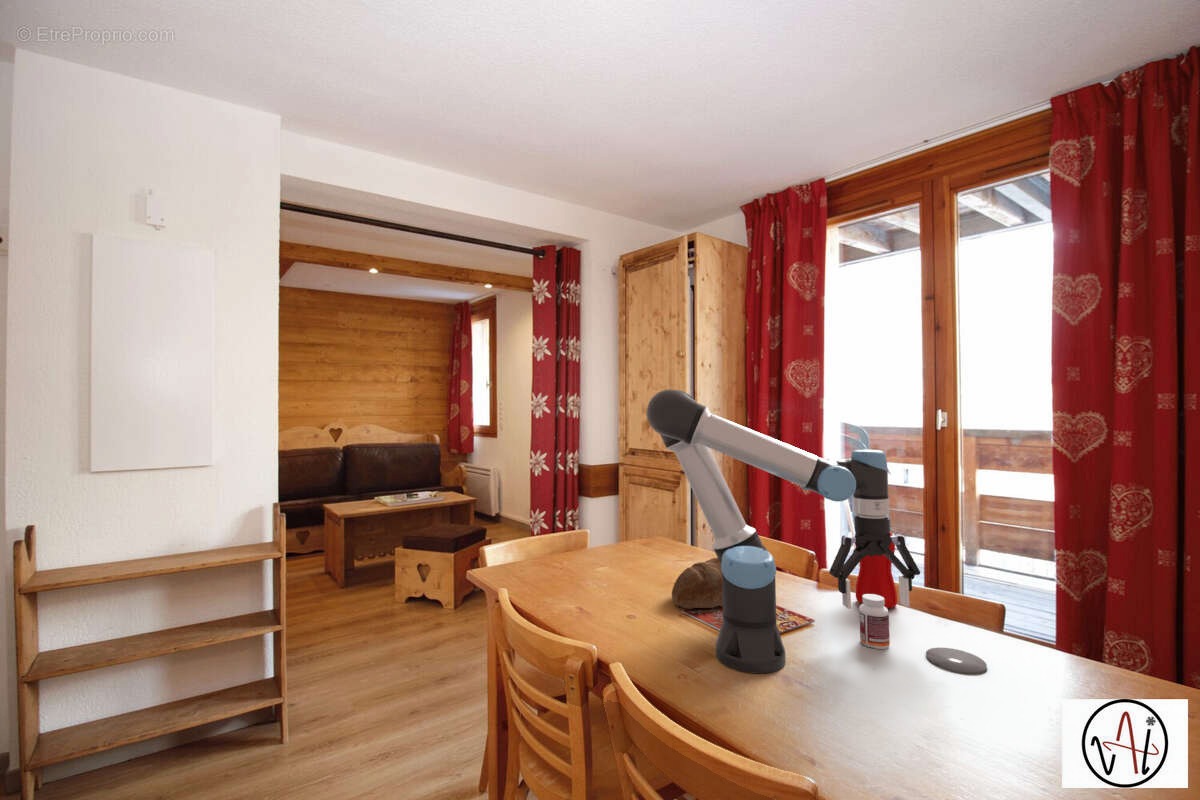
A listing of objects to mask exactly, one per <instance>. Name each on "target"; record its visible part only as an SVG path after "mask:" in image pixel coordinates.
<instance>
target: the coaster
mask: <svg viewBox="0 0 1200 800" xmlns="http://www.w3.org/2000/svg"><path fill="white" fill-rule="evenodd" d="M925 658H926V659H927V660H928V662H930V663H931V664H932V665H934V666H936V667H938V668H941V669H943V670H947V671H950V672H954V673H958V674H965V675H979V674H984V673H985V672H986V671H987V669H988V666H987V663H986V661H985V660H983V659H982V658H981V657H979V656H977V655H975V654H973V653H970V652H967V651H964V650H960V649H957V648H956V649H955V648H950V647H931V648H929V649H927V650H926V652H925Z"/></svg>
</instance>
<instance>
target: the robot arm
mask: <svg viewBox="0 0 1200 800" xmlns="http://www.w3.org/2000/svg"><path fill="white" fill-rule="evenodd" d="M646 419H647V422H648V424H649V426H650V428H652V430H654V432H656V433H657V434H659V435H660V438H661V440H662V442H663V444H664V446H665V448H666V450H669V451H671V452H672V453H673V452H674V454H675V455H676V458H677V461H679V464H680V467H681V469H682V470H683V472H684V474H685V477H686V479H687V481H688V483H689V485H690V487H691V489H692V492H693V494H694V497H695V498H696V500H697V503H698V505H699V506H700V509H701V511H702V513H703V515H704V517H705V519H706V520H705V521H707V524H708V526H709V528H710V530H711V532H712V534H713V536H714V541H713V544H712V548H713V551H714V553H715V555H716V558H718V559H719V561H720V564H721V571H722V600H723V606H722V622H721V626H720V628H719V632H718V635H717V638H716V642H715V657H716V659H717V660H718V661H719V663H721V664H723V665H724V666H725V667H728V668H730V669H733V670H736V671H739V672H744V673H750V674H767V673H773V672H776V671H779V670H781V669H782V668H783V667H784V666H785V665H786V663H787V662H786V661H787V660H786V659H787V658H786V649H785V646H784V643H783V641H782V637H781V635H780V631H779V628H778V626H777V592H776V589H777V588H776V575H777V566H776V562H775V558H774V556H773V555H772V554H771V553H770V552H769V550H768V549H767V547H765V545H764V544H763V542H762V540H761V538H760V536H759V534H758V532H757V529H756V528H755V527H753V526H750V525H749V524H747V523H746V521H745V519H744V516H743V515H742V513H741V511H740V508H739V505H738V504H737V502H736V499H735V498H734V496H733V494H732V492H731V490H730V487H729V486H728V483H727V481H726V479H725V477H724V475H723V473H722V471H721V469H720V467H719V465H718V463H717V461H716V459H715V456H714V454H713V452H712V450H714V451H716V452H719V453H721V454H723V455H726V456H728V457H731V458H733V459H734V460H738V461H741V462H743V463H744V464H748V465H750V466H751V467H755V468H757V469H759V470H762V471H764V472H767V473H769V474H772V475H774V476H776V477H778V478H781V479H784V480H786V481H788V482H791V483H793V484H795V485H797V486H800V488H801V489H802V490H804V491H811V492H814V493H816V494H818V495H821V496H823V498H825V499H827V500H829V501H832V502H844V501H847V500H848V499H850V498H851V497H852V499H853V513H854V514H855V515H854V517H853V518H854V519H853V520H854V523H853V524H854V532H855V534H854V537H851V536H847V535H842V536H841V541H840V547H839V549H838V551H837V554H836V555H835V558H834V560H833V562H832V564H831V566H830V569H829V574H830V575H831V576H833V577H834V578H836V579H837V588H838V591H839V593H840V594H842V595H841V596H842V606H844V607H845V608H846V609H848V610H850V609H851V610H852V599H851V593H852V592H851V581H850V579H848V577H849V576H850V575H851V573H852V572H853V571H854V570H855V568H856V567H857V565H858V564H860V561H861V559H862V558H864V557H865V556H866V555H868V556H874V555H878V556H882V555H883V554H884V555H885V556H886V557H887V558H888V559H889V560H890V561H891V562H892V564H893V565H894V567H895V568H896V569H897V570H898V571H899V572H900V573H901V574H902V575H901V574H899V575H898V586H899V587H898V589H899V590H898V591H899V604H901V605H903V606H904V607H906V608H910V607H911V605H910V592H912V591H913V582H912V581H913V580H914V579H915V576H919V575H920V574H921V570H920V568H919V567H918V565H917V563H916V562H915V559H914V558H913V556H912V555H911V553H910V551H909V549H908V547H907V546H906V545H907V544H906V539H905V537H904V536H903V535H901V534H898V533H894V534H893V536H890V532H891V519H890V517H889V515H890V499H889V478H888V477H889V476H888V475H889V468H888V460H887V455H886V453H885V452H884V451H883V450H879V449H855V450H852V451H851V453H850V455H851V456H850V458H823V457H819V456H817V455H815V454H813V453H810V452H807V451H805V450H804V449H803V450H802V449H800V448H798V447H797V446H796V447H795V446H793V445H791V444H789V443H786V442H782V441H780V440H778V439H775V438H773V437H771V436H769V435H766V434H763V433H760V432H758V431H755V430H753V429H751V428H748V427H747V426H746V427H745V426H743V425H741V424H738V423H736V422H734V421H731V420H728V419H726V418H724V417H721V416H720V415H716V414H714V413H711V412H710V409H709V407H708V406H705V405H703V404H701V403H698V402H696V400H695V399H694V398H693V397H692V395H690V394H689V393H687V392H686V391H683V390H678V389H671V388H669V389H664V390H661V391H658V392H657V393H655V394H654V395H653V396H652V397H651V398H650V400H649V402H648V404H647V408H646ZM711 449H712V450H711ZM892 542H893V543H894V544H895V548H896V549H897V550H898V552H899V554H900V556H901V558H902V559H903V562H904V563H905V564H904V563H902V561H901V560H900V559H899V557H897V555H896V554H895V552H894V553H893V552H892V551H891V550H890V549H889V546H890V544H891V543H892ZM855 544H856V545H857V547H856V546H855V548H854V549H853V551H852V554H850V556H849V557H848V555H849V553H850V550H851V548H852V547H853V546H854V545H855ZM860 551H861V552H860ZM847 557H848V558H847ZM905 565H906V566H905Z"/></svg>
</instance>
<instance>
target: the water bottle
mask: <svg viewBox="0 0 1200 800" xmlns="http://www.w3.org/2000/svg"><path fill="white" fill-rule="evenodd" d="M890 536H894V534H893V533H892V531H890ZM854 546H855V548H856V547H857V545H856V544H855V543H854ZM889 549H890V550H891V551H892V552H893V553H894V554H895V551H896V545H895V544H894V543H893V542H892V543H891V544H890V546H889ZM860 552H861V551H860ZM892 564H893V563H892V562H891V561H890V560H889V559H888V558H887V557H886V556H885V555H884V554H883V555H882V556H878V555H874V556H868V555H866V556H865V557H864V558H862V559H861V561H860V562H859V570H858V574H857V578H856V585H855V599H856V601H857V602H858V603H859V604H860V605H862V604H864V603H863V601H862V596H863V595H864V594H875V595H879V596H882V597H883V598H884V600H885V604H884V607H886V608H887V609H889V608H890V609H892V608H895V607H896V606H897V603H898V594H897V593H898V592H897V587H896V584H895V580H894V576H893V573H892Z"/></svg>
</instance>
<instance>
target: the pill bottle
mask: <svg viewBox="0 0 1200 800" xmlns="http://www.w3.org/2000/svg"><path fill="white" fill-rule="evenodd" d="M862 601H863V603H864V604H860V605H859V607H858V609H859V612H858V613H859V639H860V642H861V644H863V645H864V646H865V647H868V648H870V649H875V650H885V649H888V648H889V647H890V619H889V618H890V617H889V610H888V609H889V608H886V607H884V604H885V600H884V598H883V597H882V596H879V595H875V594H864V595H863V596H862Z"/></svg>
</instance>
